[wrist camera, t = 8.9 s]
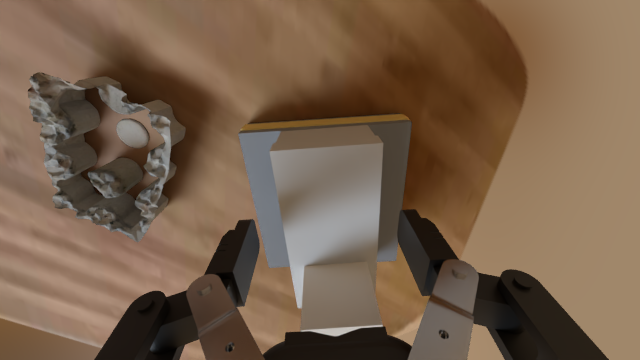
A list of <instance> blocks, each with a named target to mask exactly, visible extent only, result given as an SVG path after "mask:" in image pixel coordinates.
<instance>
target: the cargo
mask: <svg viewBox="0 0 640 360" xmlns="http://www.w3.org/2000/svg"><path fill="white" fill-rule="evenodd" d="M368 327H382V321H381V317H380V312H379V308H378V304H377V300H376V296H375V292H374V288H373V284H372V279H371V275H370V271H369V267H368V263H367V262H354V263H341V264H327V265H314V266H304V278H303V295H302V313H301V332H303V331H312V332H317V333H321V334H326V335H331V336H339V335H342V334H345V333H348V332H350V331H353V330H356V329H359V328H368Z"/></svg>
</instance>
